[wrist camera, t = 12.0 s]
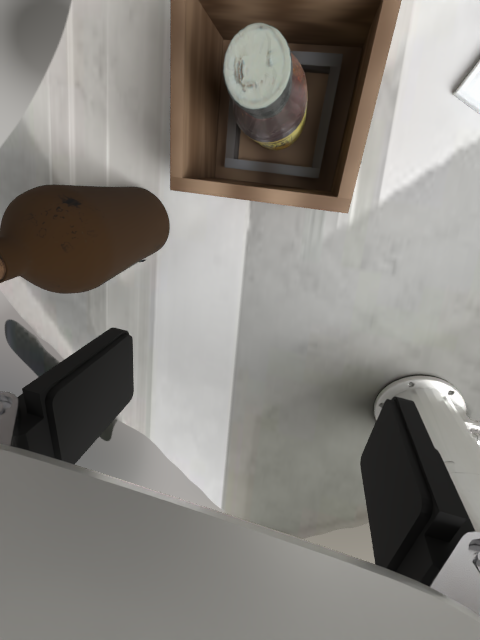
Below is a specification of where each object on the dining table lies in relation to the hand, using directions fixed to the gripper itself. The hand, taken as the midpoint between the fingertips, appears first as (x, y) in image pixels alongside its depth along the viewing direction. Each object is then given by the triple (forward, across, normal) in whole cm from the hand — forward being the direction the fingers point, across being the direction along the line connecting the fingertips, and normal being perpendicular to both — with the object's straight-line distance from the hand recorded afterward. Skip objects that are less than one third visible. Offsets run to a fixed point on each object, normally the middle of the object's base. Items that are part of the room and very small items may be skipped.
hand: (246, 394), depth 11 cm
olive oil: (+33, +23, +1) cm, 40 cm away
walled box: (+33, +5, -13) cm, 36 cm away
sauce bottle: (+32, +5, -13) cm, 35 cm away
